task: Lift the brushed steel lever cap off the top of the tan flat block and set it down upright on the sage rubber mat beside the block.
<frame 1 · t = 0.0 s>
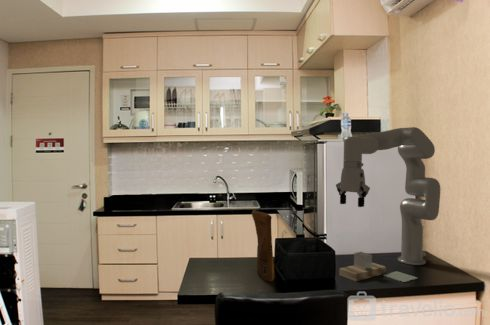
hand: (351, 205, 152), 31 cm above the kitchen counter, fingers open, 9 cm apart
tan flat block: (362, 274, 157), on the kitchen counter
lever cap: (362, 267, 157), point 3 cm above the kitchen counter, touching tan flat block
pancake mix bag: (263, 276, 154), on the kitchen counter
sage mat: (400, 277, 154), on the kitchen counter
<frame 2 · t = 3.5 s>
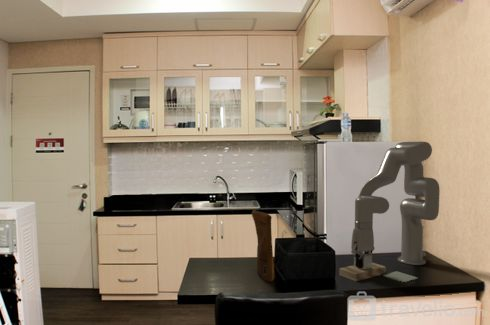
hand: (362, 266, 157), 4 cm above the kitchen counter, fingers closed on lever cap, 4 cm apart
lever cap: (362, 267, 157), point 3 cm above the kitchen counter, touching gripper, tan flat block
everything else where it was.
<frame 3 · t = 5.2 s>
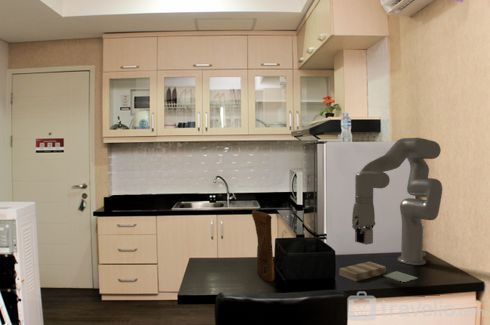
hand: (363, 240, 157), 15 cm above the kitchen counter, fingers closed on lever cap, 4 cm apart
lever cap: (363, 242, 157), point 14 cm above the kitchen counter, touching gripper
everything else where it was.
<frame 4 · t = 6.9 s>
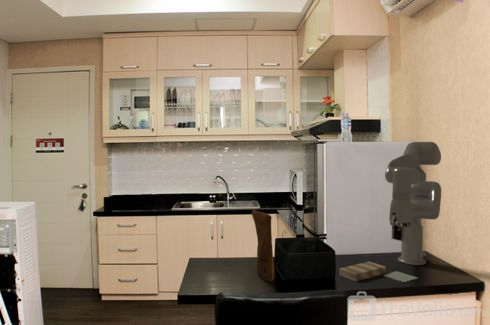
hand: (400, 238, 154), 17 cm above the kitchen counter, fingers closed on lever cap, 4 cm apart
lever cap: (400, 239, 154), point 16 cm above the kitchen counter, touching gripper
everything else where it was.
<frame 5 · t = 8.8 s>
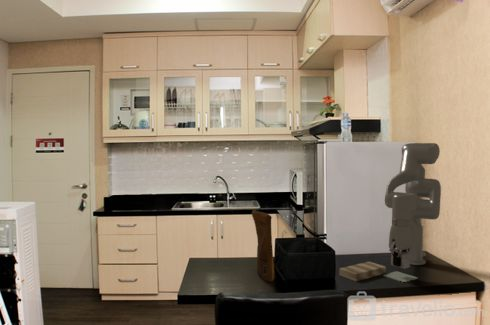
hand: (400, 264, 154), 6 cm above the kitchen counter, fingers closed on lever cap, 4 cm apart
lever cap: (400, 266, 154), point 5 cm above the kitchen counter, touching gripper
everything else where it was.
when the fingers open (3 cm above the kitchen counter, at t = 10.3 s): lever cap drops 1 cm, resting on sage mat.
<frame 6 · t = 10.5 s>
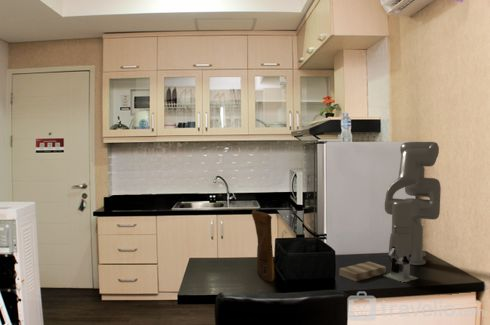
hand: (400, 270, 154), 3 cm above the kitchen counter, fingers open, 6 cm apart
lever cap: (400, 276, 154), resting on sage mat
everything else where it was.
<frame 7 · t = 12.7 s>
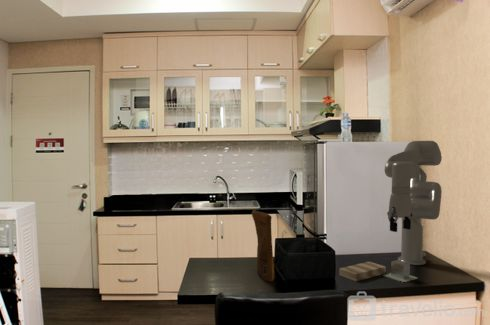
hand: (400, 230, 154), 20 cm above the kitchen counter, fingers open, 9 cm apart
nothing on the kitchen counter moved.
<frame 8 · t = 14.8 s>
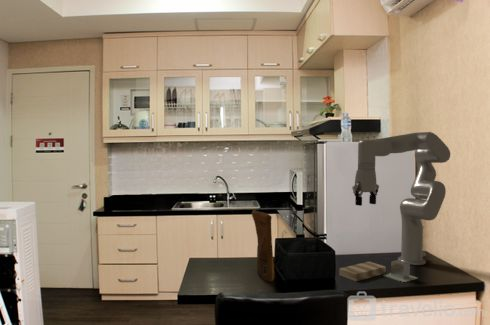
hand: (365, 204, 162), 30 cm above the kitchen counter, fingers open, 9 cm apart
nothing on the kitchen counter moved.
at the end: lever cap inside the target area (0.0 cm from its centre), resting on sage mat; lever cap touching sage mat; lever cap tilted 0° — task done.
